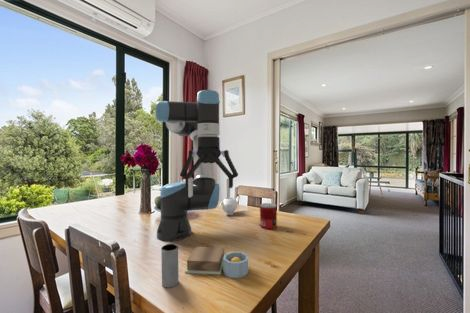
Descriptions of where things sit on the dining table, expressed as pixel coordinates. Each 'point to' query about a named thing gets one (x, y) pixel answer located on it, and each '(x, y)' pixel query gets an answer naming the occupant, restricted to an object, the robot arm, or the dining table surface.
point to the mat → (205, 271)
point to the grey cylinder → (169, 265)
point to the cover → (205, 259)
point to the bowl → (235, 264)
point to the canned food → (268, 216)
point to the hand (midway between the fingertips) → (209, 197)
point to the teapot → (230, 205)
